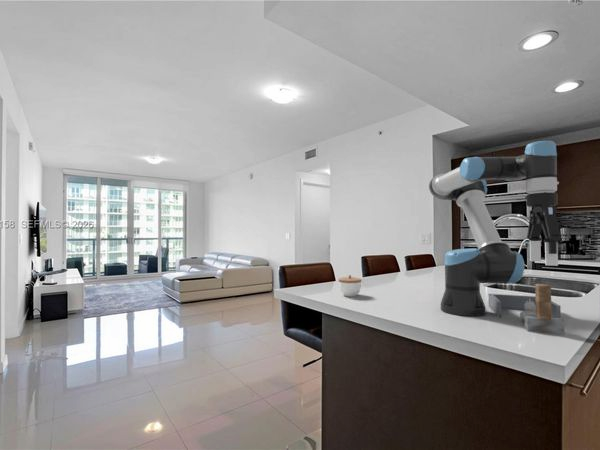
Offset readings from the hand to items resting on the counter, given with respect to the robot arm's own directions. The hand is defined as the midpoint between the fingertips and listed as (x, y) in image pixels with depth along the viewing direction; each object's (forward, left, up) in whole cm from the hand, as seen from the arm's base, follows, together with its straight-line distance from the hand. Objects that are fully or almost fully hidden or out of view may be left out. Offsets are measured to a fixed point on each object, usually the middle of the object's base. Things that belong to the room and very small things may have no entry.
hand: (543, 263), depth 96 cm
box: (0, +22, -21) cm, 30 cm away
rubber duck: (-1, +9, -21) cm, 23 cm away
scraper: (0, 0, -21) cm, 21 cm away
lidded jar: (-66, +33, -21) cm, 77 cm away
